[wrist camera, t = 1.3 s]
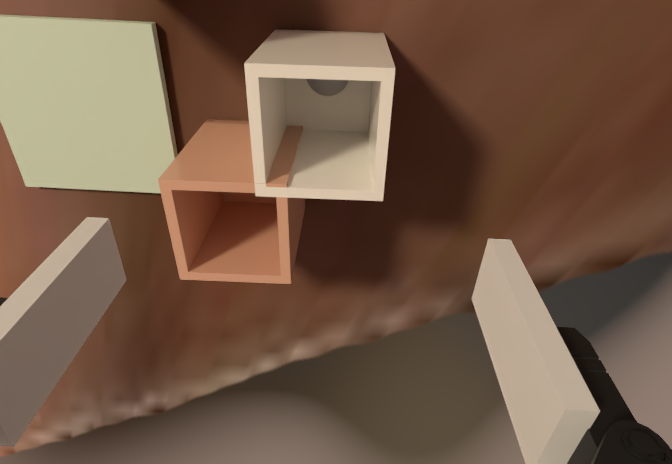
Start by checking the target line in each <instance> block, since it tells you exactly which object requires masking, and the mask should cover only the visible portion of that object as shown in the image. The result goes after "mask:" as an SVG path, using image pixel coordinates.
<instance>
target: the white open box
mask: <svg viewBox="0 0 672 464" xmlns="http://www.w3.org/2000/svg"><path fill="white" fill-rule="evenodd" d="M244 68H245V80H246V91H247V103H248V114H249V126H250V138H251V149H252V161H253V172H254V184H255V196H261V197H287V198H313V199H339V200H365V201H383V196H384V185H385V174H386V164H387V153H388V143H389V132H390V121H391V111H392V100H393V89H394V79H395V65H394V62H393V59H392V56H391V53H390V50H389V47H388V44H387V41H386V38H385V35H384V33H372V32H341V31H310V30H278V29H275V30H274V31H273V32H272V34H271V35H270V36H269V37H268V38H267V39H266V40H265V41H264V42H263V43H262V44H261V45H260V46H259V48H258V49H257V50H256V51H255V52H254V53H253V54H252V55H251V56H250V57H249V58H248V59H247V61H246V62H245V63H244ZM307 79H328V80H349V81H348V83H347V85H346V87H345V88H344V89H343V90H342V91H341V92H339V93H338V94H336V95H332V96H324V95H320V94H318V93H316V92H315V91H314V90H313V89H312V88H311V87H310V86H309V84H308V82H307ZM287 125H289V126H303V131H302V135H301V139H300V142H299V146H298V149H297V153H296V157H295V160H294V164H293V167H292V171H291V175H290V178H289V182H288V185H287V188H285V187H266V181H267V179H268V176H269V173H270V170H271V168H272V165H273V162H274V159H275V157H276V154H277V151H278V148H279V146H280V143H281V140H282V138H283V135H284V132H285V129H286V127H287ZM259 183H265V184H259Z"/></svg>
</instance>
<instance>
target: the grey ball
mask: <svg viewBox="0 0 672 464" xmlns="http://www.w3.org/2000/svg"><path fill="white" fill-rule="evenodd" d="M348 81H349V80H328V79H307V82H308V84H309V86H310V87H311V88H312V89H313V90H314V91H315V92H316V93H318V94H320V95H324V96H332V95H336V94H338V93H339V92H341V91H342V90H343V89H344V88H345V87H346V85H347V83H348Z"/></svg>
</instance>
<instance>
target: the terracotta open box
mask: <svg viewBox="0 0 672 464" xmlns="http://www.w3.org/2000/svg"><path fill="white" fill-rule="evenodd" d="M302 131H303V126H289V125H287V127H286V129H285V132H284V135H283V138H282V140H281V143H280V146H279V148H278V151H277V154H276V157H275V159H274V162H273V165H272V168H271V170H270V173H269V176H268V179H267V181H266V187H285V188H287V185H288V182H289V178H290V175H291V171H292V167H293V164H294V160H295V157H296V153H297V149H298V146H299V142H300V139H301V135H302ZM158 182H159V187H160V191H161V196H162V200H163V205H164V209H165V214H166V218H167V223H168V227H169V232H170V236H171V241H172V245H173V250H174V254H175V259H176V263H177V268H178V272H179V277H180V279H183V280H207V281H232V282H256V283H280V284H291V281H292V276H293V270H294V265H295V260H296V254H297V249H298V243H299V238H300V233H301V227H302V222H303V216H304V211H305V198H287V197H261V196H255V184H254V172H253V161H252V149H251V138H250V126H249V121H245V120H217V119H207V120H206V121H205V123H204V124H203V125H202V126H201V128H200V129H199V130H198V131H197V132H196V134H195V135H194V136H193V137H192V138H191V140H190V141H189V142H188V143H187V145H186V146H185V147H184V148H183V149H182V151H181V152H180V153H179V154H178V156H177V157H176V158H175V159H174V160H173V162H172V163H171V164H170V165H169V166H168V168H167V169H166V170H165V171H164V173H163V174H162V175H161V176H160V177H159V179H158ZM259 184H265V183H259Z"/></svg>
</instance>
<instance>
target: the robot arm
mask: <svg viewBox="0 0 672 464" xmlns="http://www.w3.org/2000/svg"><path fill="white" fill-rule="evenodd" d="M125 282H126V276H125V273H124V269H123V266H122V262H121V259H120V255H119V252H118V248H117V245H116V241H115V238H114V234H113V231H112V227H111V224H110V220H109V218H93V217H87V218H86V219H85V220H84V221H83V222H82V223H81V224H80V225H79V226H78V227H77V228H76V229H75V230H74V231H73V232H72V233H71V234H70V235H69V236H68V237H67V238H66V239H65V240H64V241H63V242H62V243H61V244H60V245H59V246H58V247H57V249H56V250H55V251H54V252H53V253H52V254H51V255H50V256H49V257H48V258H47V259H46V260H45V261H44V262H43V263H42V264H41V265H40V266H39V267H38V268H37V269H36V270H35V271H34V272H33V273H32V274H31V275H30V276H29V277H28V278H27V279H26V280H25V281H24V282H23V283H22V284H21V286H20V287H19V288H18V289H17V290H16V291H15V292H14V293H13V294H12V295H11V296H10V297H9V298H0V446H13V447H14V446H15V445H16V443H17V442H18V440H19V439H20V437H21V436H22V434H23V433H24V431H25V430H26V428H27V427H28V425H29V424H30V422H31V421H32V419H33V418H34V416H35V415H36V413H37V412H38V410H39V409H40V407H41V406H42V405H43V403H44V402H45V400H46V399H47V397H48V396H49V394H50V393H51V391H52V390H53V388H54V387H55V385H56V384H57V382H58V381H59V379H60V378H61V376H62V375H63V373H64V372H65V370H66V369H67V367H68V366H69V365H70V363H71V362H72V360H73V359H74V357H75V356H76V354H77V353H78V351H79V350H80V348H81V347H82V345H83V344H84V342H85V341H86V339H87V338H88V336H89V335H90V333H91V332H92V330H93V329H94V327H95V326H96V324H97V323H98V322H99V320H100V319H101V317H102V316H103V314H104V313H105V311H106V310H107V308H108V307H109V305H110V304H111V302H112V301H113V299H114V298H115V296H116V295H117V293H118V292H119V290H120V289H121V287H122V286H123V284H124V283H125ZM472 302H473V305H474V308H475V311H476V314H477V317H478V320H479V323H480V326H481V329H482V332H483V335H484V338H485V341H486V344H487V347H488V350H489V353H490V357H491V360H492V363H493V366H494V369H495V371H496V375H497V378H498V381H499V384H500V387H501V390H502V393H503V396H504V399H505V402H506V405H507V408H508V412H509V415H510V418H511V421H512V424H513V427H514V429H515V433H516V436H517V439H518V442H519V445H520V448H521V451H522V454H523V457H524V461H525V464H672V450H671V449H670V447H669V446H668V445H667V444H666V442H665V441H664V440H663V439H662V438H661V437H660V436H659V435H658V434H656V433H655V432H654V431H652V430H651V429H649V428H648V427H646V426H643V425H641V424H639V423H637V421H636V420H635V418H634V417H633V415H632V413H631V412H630V410H629V408H628V407H627V405H626V403H625V401H624V400H623V398H622V396H621V395H620V393H619V391H618V389H617V388H616V386H615V384H614V383H613V381H612V379H611V378H610V376H609V374H608V373H606V369H605V367H604V366H603V364H602V362H601V361H600V360H599V359H598V355H597V354H596V352H595V350H594V349H593V347H592V345H591V343H590V342H589V341H588V340H587V339H586V338H585V337H584V336H583V335H582V334H581V333H579V332H578V331H577V330H576V329H575V328H565V327H556V326H555V324H554V322H553V320H552V318H551V316H550V314H549V312H548V310H547V308H546V306H545V305H544V303H543V301H542V299H541V297H540V295H539V293H538V291H537V289H536V287H535V285H534V283H533V282H532V280H531V278H530V276H529V274H528V272H527V270H526V268H525V266H524V264H523V262H522V261H521V259H520V257H519V255H518V253H517V251H516V249H515V247H514V245H513V243H512V241H511V240H505V239H488V242H487V245H486V249H485V252H484V256H483V260H482V263H481V267H480V270H479V274H478V278H477V281H476V285H475V288H474V292H473V295H472Z"/></svg>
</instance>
